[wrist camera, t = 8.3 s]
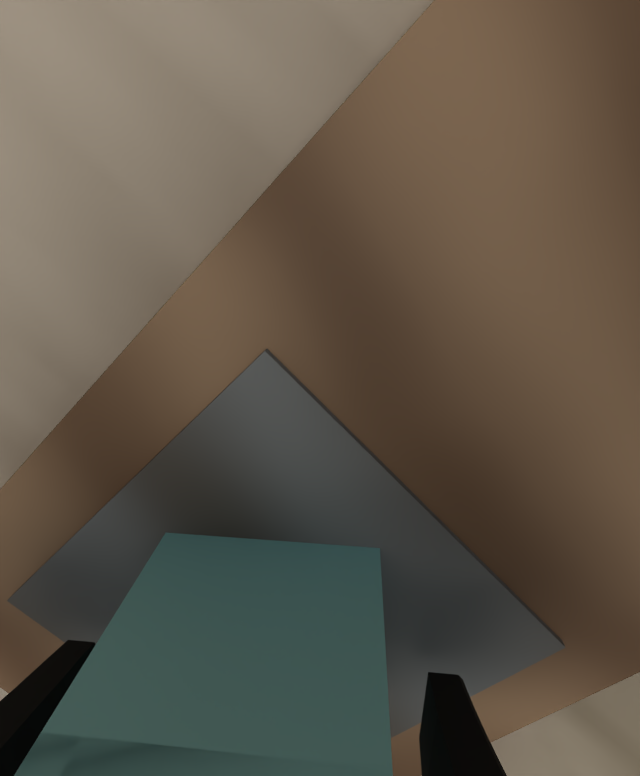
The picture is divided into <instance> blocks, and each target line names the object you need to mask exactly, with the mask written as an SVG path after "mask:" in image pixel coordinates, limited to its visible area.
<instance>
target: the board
mask: <svg viewBox="0 0 640 776" xmlns="http://www.w3.org/2000/svg"><path fill="white" fill-rule="evenodd" d="M165 533H178V534H192V535H206V536H219V537H233V538H247V539H261V540H275V541H289V542H302V543H316V544H330V545H344V546H358V547H371V548H380V559H381V577H382V594H383V612H384V629H385V647H386V664H387V682H388V699H389V717H390V734H391V752H392V769H393V776H421V775H422V772H421V758H420V744H419V734H420V727H421V720H422V713H423V706H424V698H425V691H426V684H427V677H428V672H434V673H445V674H456V675H459V676H460V677H461V678H462V679H463V681H464V683H465V686H466V689H467V691H468V693H469V696H470V698H471V701H472V703H473V705H474V708H475V710H476V712H477V714H478V717H479V719H480V721H481V723H482V726H483V728H484V730H485V732H486V734H487V736H488V738H489V741H490V743H491V742H493V741H495V740H497V739H499V738H501V737H503V736H505V735H507V734H510V733H512V732H514V731H516V730H518V729H520V728H522V727H524V726H526V725H529V724H531V723H533V722H535V721H537V720H539V719H541V718H543V717H545V716H548V715H550V714H552V713H554V712H556V711H558V710H560V709H562V708H565V707H567V706H569V705H571V704H573V703H575V702H577V701H579V700H581V699H584V698H586V697H588V696H590V695H592V694H594V693H596V692H598V691H600V690H603V689H605V688H607V687H609V686H611V685H613V684H615V683H617V682H619V681H622V680H624V679H626V678H628V677H630V676H632V675H634V674H636V673H638V672H640V0H434V1H433V3H432V4H431V5H430V6H429V7H428V8H427V9H426V10H425V12H424V13H423V14H422V15H421V16H420V17H419V18H418V19H417V21H416V22H415V23H414V24H413V25H412V26H411V27H410V28H409V30H408V31H407V32H406V33H405V34H404V35H403V36H402V37H401V39H400V40H399V41H398V42H397V43H396V44H395V45H394V46H393V48H392V49H391V50H390V51H389V52H388V53H387V54H386V55H385V57H384V58H383V59H382V60H381V61H380V62H379V63H378V64H377V66H376V67H375V68H374V69H373V70H372V71H371V72H370V73H369V75H368V76H367V77H366V78H365V79H364V80H363V81H362V82H361V84H360V85H359V86H358V87H357V88H356V89H355V90H354V92H353V93H352V94H351V95H350V96H349V97H348V98H347V99H346V101H345V102H344V103H343V104H342V105H341V106H340V107H339V108H338V110H337V111H336V112H335V113H334V114H333V115H332V116H331V117H330V119H329V120H328V121H327V122H326V123H325V124H324V125H323V126H322V128H321V129H320V130H319V131H318V132H317V133H316V134H315V135H314V137H313V138H312V139H311V140H310V141H309V142H308V143H307V144H306V146H305V147H304V148H303V149H302V150H301V151H300V152H299V153H298V155H297V156H296V157H295V158H294V159H293V160H292V161H291V162H290V164H289V165H288V166H287V167H286V168H285V169H284V170H283V171H282V173H281V174H280V175H279V176H278V177H277V178H276V179H275V180H274V182H273V183H272V184H271V185H270V186H269V187H268V188H267V190H266V191H265V192H264V193H263V194H262V195H261V196H260V197H259V199H258V200H257V201H256V202H255V203H254V204H253V205H252V206H251V208H250V209H249V210H248V211H247V212H246V213H245V214H244V215H243V217H242V218H241V219H240V220H239V221H238V222H237V223H236V224H235V226H234V227H233V228H232V229H231V230H230V231H229V232H228V233H227V235H226V236H225V237H224V238H223V239H222V240H221V241H220V242H219V244H218V245H217V246H216V247H215V248H214V249H213V250H212V251H211V253H210V254H209V255H208V256H207V257H206V258H205V259H204V260H203V262H202V263H201V264H200V265H199V266H198V267H197V268H196V269H195V271H194V272H193V273H192V274H191V275H190V276H189V277H188V278H187V280H186V281H185V282H184V283H183V284H182V285H181V286H180V287H179V289H178V290H177V291H176V292H175V293H174V294H173V295H172V297H171V298H170V299H169V300H168V301H167V302H166V303H165V304H164V306H163V307H162V308H161V309H160V310H159V311H158V312H157V313H156V315H155V316H154V317H153V318H152V319H151V320H150V321H149V322H148V324H147V325H146V326H145V327H144V328H143V329H142V330H141V331H140V333H139V334H138V335H137V336H136V337H135V338H134V339H133V340H132V342H131V343H130V344H129V345H128V346H127V347H126V348H125V349H124V351H123V352H122V353H121V354H120V355H119V356H118V357H117V358H116V360H115V361H114V362H113V363H112V364H111V365H110V366H109V367H108V369H107V370H106V371H105V372H104V373H103V374H102V375H101V376H100V378H99V379H98V380H97V381H96V382H95V383H94V384H93V385H92V387H91V388H90V389H89V390H88V391H87V392H86V393H85V394H84V396H83V397H82V398H81V399H80V400H79V401H78V402H77V404H76V405H75V406H74V407H73V408H72V409H71V410H70V411H69V413H68V414H67V415H66V416H65V417H64V418H63V419H62V420H61V422H60V423H59V424H58V425H57V426H56V427H55V428H54V429H53V431H52V432H51V433H50V434H49V435H48V436H47V437H46V438H45V440H44V441H43V442H42V443H41V444H40V445H39V446H38V447H37V449H36V450H35V451H34V452H33V453H32V454H31V455H30V456H29V458H28V459H27V460H26V461H25V462H24V463H23V464H22V465H21V467H20V468H19V469H18V470H17V471H16V472H15V473H14V474H13V476H12V477H11V478H10V479H9V480H8V481H7V482H6V483H5V485H4V486H3V487H2V488H1V489H0V688H2V689H3V690H5V691H6V692H8V693H10V692H11V691H12V690H13V689H14V688H15V687H17V686H18V685H19V684H20V683H21V682H22V681H23V680H24V679H25V678H26V677H27V676H29V675H30V674H31V673H32V672H33V671H34V670H35V669H36V668H37V667H38V666H39V665H41V664H42V663H43V662H44V661H45V660H46V659H47V658H48V657H49V656H50V655H52V654H53V653H54V652H55V651H56V650H57V649H58V648H59V647H61V646H62V645H63V644H64V643H65V642H66V641H67V640H77V641H88V642H95V645H96V643H97V642H98V640H99V639H100V637H101V635H102V634H103V632H104V631H105V629H106V627H107V626H108V624H109V623H110V621H111V619H112V618H113V616H114V615H115V613H116V611H117V610H118V608H119V607H120V605H121V603H122V602H123V600H124V599H125V597H126V595H127V594H128V592H129V591H130V589H131V587H132V586H133V584H134V583H135V581H136V579H137V578H138V576H139V575H140V573H141V571H142V570H143V568H144V567H145V565H146V563H147V562H148V560H149V559H150V557H151V555H152V554H153V552H154V551H155V549H156V547H157V546H158V544H159V543H160V541H161V539H162V538H163V536H164V535H165Z"/></svg>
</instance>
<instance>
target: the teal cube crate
mask: <svg viewBox="0 0 640 776" xmlns="http://www.w3.org/2000/svg"><path fill="white" fill-rule="evenodd" d="M14 776H393V769H392V752H391V734H390V717H389V699H388V682H387V664H386V647H385V629H384V612H383V594H382V577H381V559H380V548H371V547H358V546H344V545H330V544H316V543H302V542H289V541H275V540H261V539H247V538H233V537H219V536H206V535H192V534H178V533H165V535H164V536H163V538H162V539H161V541H160V543H159V544H158V546H157V547H156V549H155V551H154V552H153V554H152V555H151V557H150V559H149V560H148V562H147V563H146V565H145V567H144V568H143V570H142V571H141V573H140V575H139V576H138V578H137V579H136V581H135V583H134V584H133V586H132V587H131V589H130V591H129V592H128V594H127V595H126V597H125V599H124V600H123V602H122V603H121V605H120V607H119V608H118V610H117V611H116V613H115V615H114V616H113V618H112V619H111V621H110V623H109V624H108V626H107V627H106V629H105V631H104V632H103V634H102V635H101V637H100V639H99V640H98V642H97V643H96V645H95V647H94V648H93V650H92V651H91V653H90V655H89V656H88V658H87V659H86V661H85V663H84V664H83V666H82V667H81V669H80V671H79V672H78V674H77V675H76V677H75V679H74V680H73V682H72V683H71V685H70V687H69V688H68V690H67V692H66V693H65V695H64V696H63V698H62V700H61V701H60V703H59V704H58V706H57V708H56V709H55V711H54V712H53V714H52V716H51V717H50V719H49V720H48V722H47V724H46V725H45V727H44V728H43V730H42V732H41V733H40V735H39V736H38V738H37V740H36V741H35V743H34V744H33V746H32V748H31V749H30V751H29V752H28V754H27V756H26V757H25V759H24V760H23V762H22V764H21V765H20V767H19V768H18V770H17V772H16V773H15V775H14Z"/></svg>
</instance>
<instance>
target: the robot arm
mask: <svg viewBox="0 0 640 776" xmlns="http://www.w3.org/2000/svg"><path fill="white" fill-rule="evenodd" d="M94 647H95V642H88V641H77V640H67V641H66V642H65V643H64V644H63V645H62V646H61V647H59V648H58V649H57V650H56V651H55V652H54V653H53V654H52V655H50V656H49V657H48V658H47V659H46V660H45V661H44V662H43V663H42V664H41V665H39V666H38V667H37V668H36V669H35V670H34V671H33V672H32V673H31V674H30V675H29V676H27V677H26V678H25V679H24V680H23V681H22V682H21V683H20V684H19V685H18V686H17V687H15V688H14V689H13V690H12V691H11V692H10V693H9V694H8V695H7V696H6V697H4V698H3V699H2V700H1V701H0V776H14V775H15V773H16V772H17V770H18V768H19V767H20V765H21V764H22V762H23V760H24V759H25V757H26V756H27V754H28V752H29V751H30V749H31V748H32V746H33V744H34V743H35V741H36V740H37V738H38V736H39V735H40V733H41V732H42V730H43V728H44V727H45V725H46V724H47V722H48V720H49V719H50V717H51V716H52V714H53V712H54V711H55V709H56V708H57V706H58V704H59V703H60V701H61V700H62V698H63V696H64V695H65V693H66V692H67V690H68V688H69V687H70V685H71V683H72V682H73V680H74V679H75V677H76V675H77V674H78V672H79V671H80V669H81V667H82V666H83V664H84V663H85V661H86V659H87V658H88V656H89V655H90V653H91V651H92V650H93V648H94ZM419 744H420V758H421V772H422V776H507V775H506V773H505V771H504V769H503V767H502V765H501V763H500V761H499V759H498V757H497V755H496V753H495V751H494V749H493V747H492V745H491V743H490V741H489V738H488V736H487V734H486V732H485V730H484V728H483V726H482V723H481V721H480V719H479V717H478V714H477V712H476V710H475V708H474V705H473V703H472V701H471V698H470V696H469V693H468V691H467V689H466V686H465V683H464V681H463V679H462V678H461V677H460V676H459V675H456V674H445V673H434V672H428V677H427V684H426V691H425V698H424V706H423V713H422V720H421V727H420V734H419Z"/></svg>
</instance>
